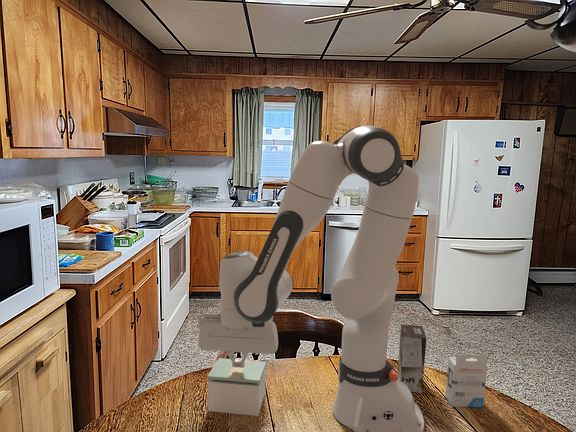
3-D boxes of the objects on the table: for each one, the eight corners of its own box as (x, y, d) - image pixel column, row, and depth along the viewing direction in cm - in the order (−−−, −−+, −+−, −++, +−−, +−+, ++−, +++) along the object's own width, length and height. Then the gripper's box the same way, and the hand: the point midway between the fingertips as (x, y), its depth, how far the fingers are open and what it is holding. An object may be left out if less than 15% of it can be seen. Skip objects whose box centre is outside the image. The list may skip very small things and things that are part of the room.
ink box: (475, 396, 110) (480, 346, 108) (483, 407, 106) (489, 355, 103) (444, 395, 110) (448, 345, 108) (451, 407, 106) (456, 354, 103)
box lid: (266, 364, 109) (266, 361, 109) (259, 383, 99) (259, 380, 99) (218, 360, 110) (218, 357, 110) (207, 379, 100) (207, 375, 100)
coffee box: (423, 393, 111) (427, 338, 109) (399, 390, 113) (402, 336, 110) (419, 376, 120) (423, 325, 118) (397, 373, 121) (400, 323, 119)
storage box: (265, 392, 110) (265, 365, 109) (258, 416, 100) (258, 386, 99) (219, 388, 111) (219, 361, 110) (208, 411, 102) (207, 381, 100)
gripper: (193, 317, 99) (195, 370, 101) (275, 321, 96) (275, 375, 98) (202, 308, 105) (203, 358, 107) (279, 312, 103) (279, 362, 105)
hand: (238, 366), depth 103 cm, fingers closed
